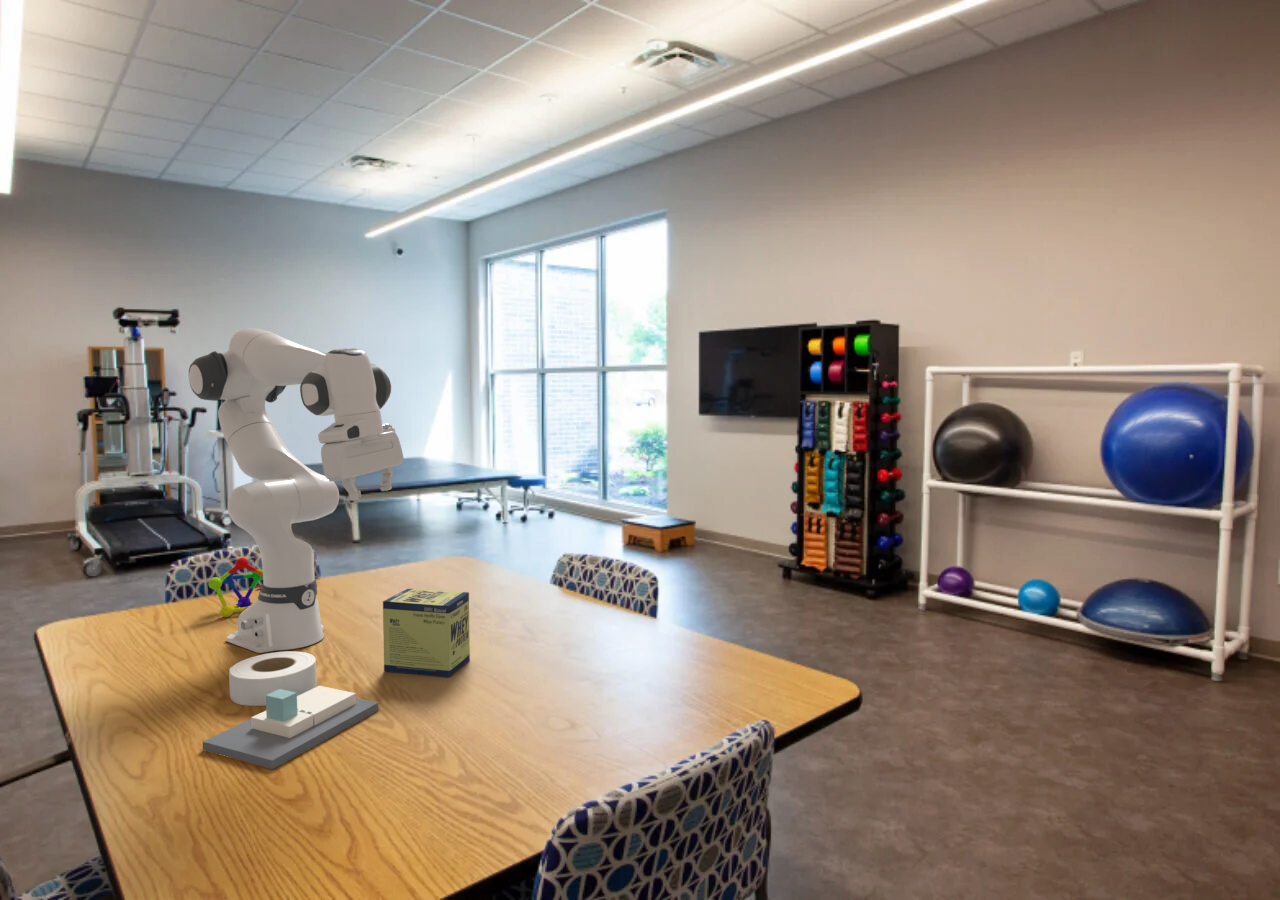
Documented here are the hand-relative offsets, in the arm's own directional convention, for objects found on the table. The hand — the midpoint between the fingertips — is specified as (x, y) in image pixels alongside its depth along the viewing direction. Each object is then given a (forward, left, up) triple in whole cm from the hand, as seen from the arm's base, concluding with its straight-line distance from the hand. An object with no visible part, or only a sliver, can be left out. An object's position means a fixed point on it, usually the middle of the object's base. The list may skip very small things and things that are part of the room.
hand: (371, 494), depth 158 cm
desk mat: (+4, -25, -38) cm, 46 cm away
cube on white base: (+4, -27, -37) cm, 46 cm away
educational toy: (-65, +21, -39) cm, 79 cm away
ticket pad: (+4, -20, -37) cm, 42 cm away
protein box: (+6, +9, -39) cm, 40 cm away
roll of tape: (-14, -13, -39) cm, 44 cm away
